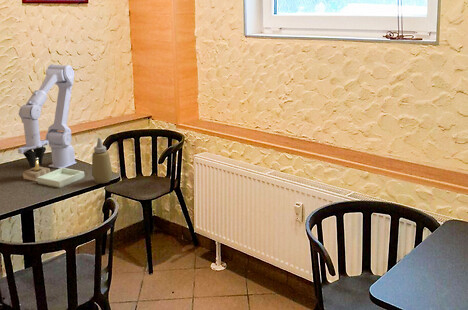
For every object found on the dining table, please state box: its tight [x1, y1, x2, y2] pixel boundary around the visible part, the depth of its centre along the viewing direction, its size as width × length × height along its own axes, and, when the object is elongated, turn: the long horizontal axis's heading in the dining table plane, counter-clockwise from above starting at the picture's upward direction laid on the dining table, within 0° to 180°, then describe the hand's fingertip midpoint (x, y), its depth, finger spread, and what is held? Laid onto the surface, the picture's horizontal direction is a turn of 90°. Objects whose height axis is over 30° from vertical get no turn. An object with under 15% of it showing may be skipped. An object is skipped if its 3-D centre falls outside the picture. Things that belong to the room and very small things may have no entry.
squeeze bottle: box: [91, 137, 113, 184], centre depth 222 cm, size 8×8×18 cm
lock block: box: [22, 166, 51, 182], centre depth 230 cm, size 8×7×3 cm
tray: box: [36, 167, 86, 189], centre depth 226 cm, size 14×12×2 cm
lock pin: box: [32, 156, 40, 172], centre depth 229 cm, size 3×3×8 cm
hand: (36, 165), depth 229 cm, fingers closed on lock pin, 3 cm apart
